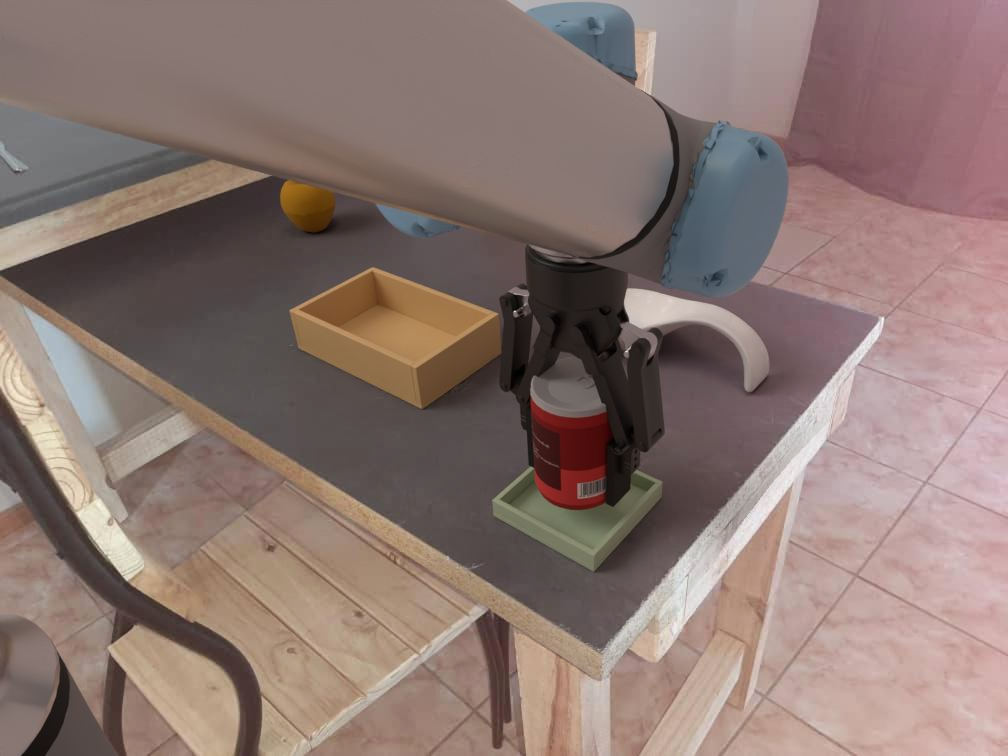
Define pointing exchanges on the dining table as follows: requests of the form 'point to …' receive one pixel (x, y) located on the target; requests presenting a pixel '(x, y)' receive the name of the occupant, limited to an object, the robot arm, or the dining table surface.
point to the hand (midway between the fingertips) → (578, 476)
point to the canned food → (569, 436)
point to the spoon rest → (676, 312)
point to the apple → (307, 206)
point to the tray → (576, 518)
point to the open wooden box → (398, 335)
